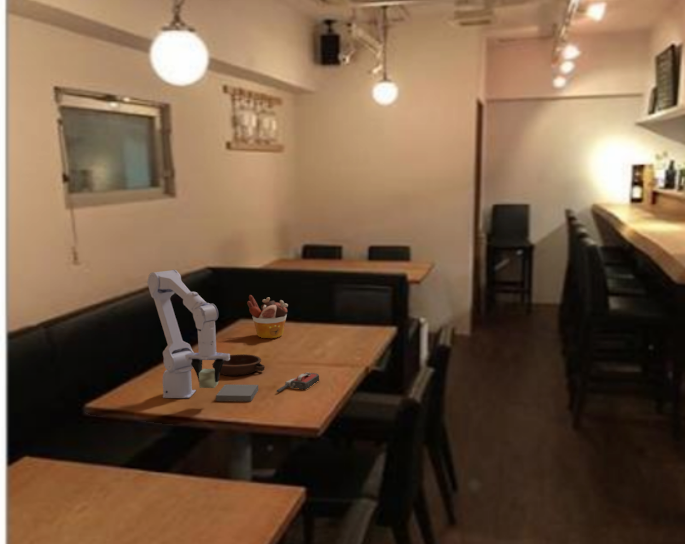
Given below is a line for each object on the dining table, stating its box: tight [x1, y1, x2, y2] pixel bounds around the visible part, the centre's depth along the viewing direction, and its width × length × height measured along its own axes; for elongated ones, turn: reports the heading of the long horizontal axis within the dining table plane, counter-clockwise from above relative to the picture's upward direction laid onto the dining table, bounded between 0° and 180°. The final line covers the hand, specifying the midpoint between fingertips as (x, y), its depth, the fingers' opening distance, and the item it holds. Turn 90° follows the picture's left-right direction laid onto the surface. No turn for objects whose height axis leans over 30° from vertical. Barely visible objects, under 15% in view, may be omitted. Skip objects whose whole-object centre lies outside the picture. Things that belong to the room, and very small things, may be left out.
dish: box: [211, 353, 266, 377], centre depth 261 cm, size 18×22×5 cm
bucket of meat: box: [246, 294, 289, 339], centre depth 317 cm, size 20×16×20 cm
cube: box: [198, 368, 219, 389], centre depth 221 cm, size 5×5×5 cm
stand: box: [215, 384, 259, 402], centre depth 232 cm, size 12×12×2 cm
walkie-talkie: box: [276, 372, 320, 393], centre depth 240 cm, size 9×4×20 cm
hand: (208, 381), depth 222 cm, fingers closed on cube, 5 cm apart
